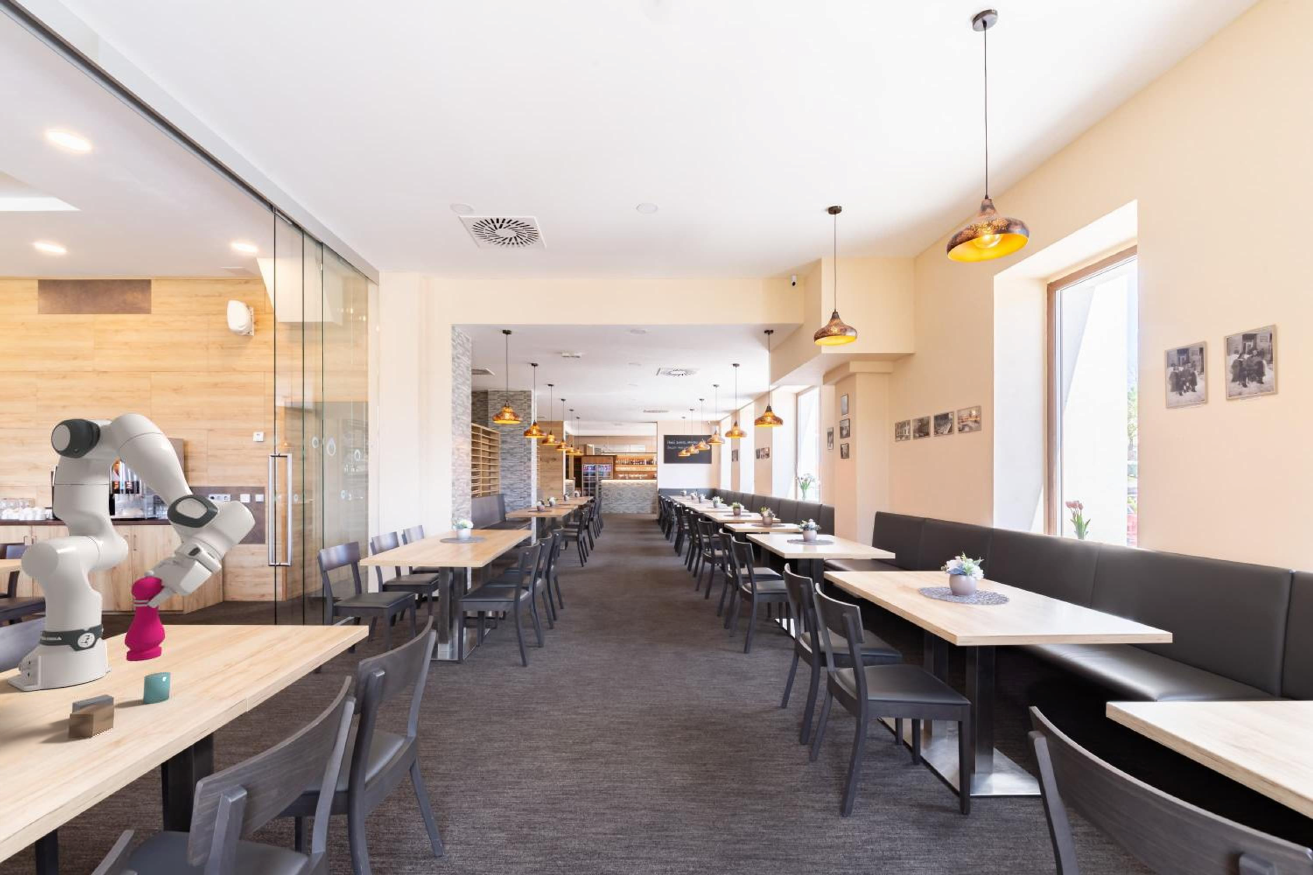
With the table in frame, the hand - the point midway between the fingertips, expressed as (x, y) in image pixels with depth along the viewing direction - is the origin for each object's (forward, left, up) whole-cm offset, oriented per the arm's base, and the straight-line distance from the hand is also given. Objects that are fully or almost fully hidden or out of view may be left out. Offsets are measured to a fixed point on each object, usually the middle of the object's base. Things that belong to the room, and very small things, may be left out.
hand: (143, 604), depth 140 cm
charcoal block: (-10, -3, -26) cm, 28 cm away
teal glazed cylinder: (-8, +9, -26) cm, 28 cm away
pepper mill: (0, +1, -12) cm, 12 cm away
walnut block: (0, -9, -26) cm, 27 cm away
